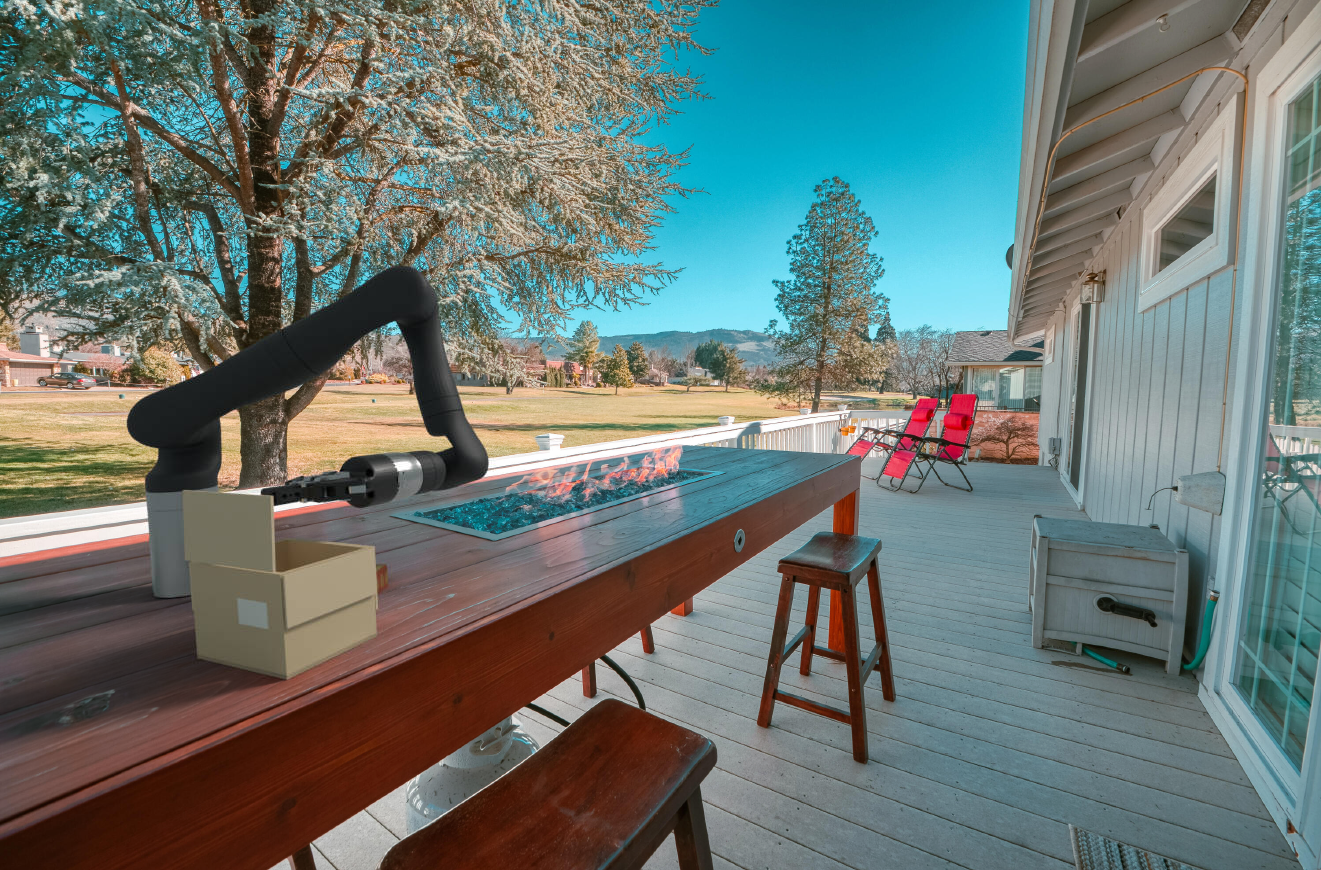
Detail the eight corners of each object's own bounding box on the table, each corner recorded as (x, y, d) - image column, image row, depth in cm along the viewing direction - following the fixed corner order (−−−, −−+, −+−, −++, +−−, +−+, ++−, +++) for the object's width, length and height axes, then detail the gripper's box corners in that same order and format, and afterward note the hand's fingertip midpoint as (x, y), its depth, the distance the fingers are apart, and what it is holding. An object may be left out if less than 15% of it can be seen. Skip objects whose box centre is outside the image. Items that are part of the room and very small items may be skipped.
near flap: (187, 559, 67) (184, 560, 67) (185, 490, 67) (182, 490, 66) (275, 571, 61) (272, 572, 61) (273, 495, 61) (270, 496, 61)
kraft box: (194, 657, 68) (186, 561, 67) (294, 619, 80) (289, 537, 79) (289, 680, 62) (282, 575, 61) (382, 635, 74) (378, 546, 73)
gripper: (349, 452, 86) (227, 465, 70) (415, 454, 81) (300, 468, 65) (351, 500, 86) (231, 524, 70) (417, 505, 82) (304, 532, 65)
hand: (265, 497), depth 68 cm, fingers closed
